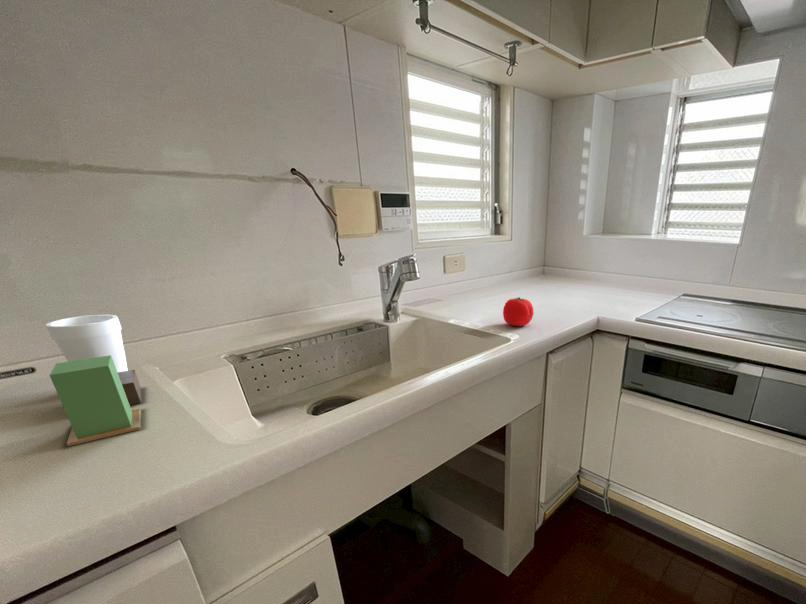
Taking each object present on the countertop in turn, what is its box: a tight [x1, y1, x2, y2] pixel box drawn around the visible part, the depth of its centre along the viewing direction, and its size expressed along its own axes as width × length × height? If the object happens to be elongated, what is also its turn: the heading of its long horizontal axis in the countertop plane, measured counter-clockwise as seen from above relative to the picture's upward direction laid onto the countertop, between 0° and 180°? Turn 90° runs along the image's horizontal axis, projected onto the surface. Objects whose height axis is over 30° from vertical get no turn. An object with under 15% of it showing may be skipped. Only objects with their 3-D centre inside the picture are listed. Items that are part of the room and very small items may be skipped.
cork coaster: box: [66, 408, 142, 447], centre depth 63 cm, size 8×8×1 cm
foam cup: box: [45, 313, 129, 373], centre depth 75 cm, size 10×9×13 cm
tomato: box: [502, 297, 535, 327], centre depth 122 cm, size 9×10×8 cm
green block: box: [49, 355, 133, 438], centre depth 61 cm, size 6×6×10 cm
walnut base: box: [118, 369, 142, 406], centre depth 71 cm, size 8×8×4 cm
